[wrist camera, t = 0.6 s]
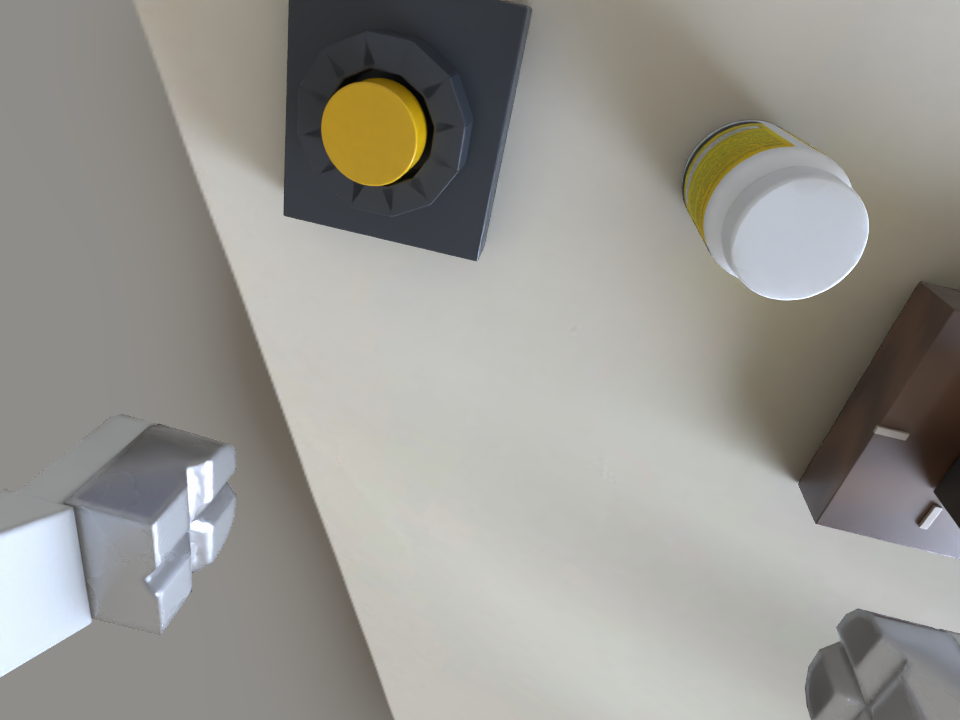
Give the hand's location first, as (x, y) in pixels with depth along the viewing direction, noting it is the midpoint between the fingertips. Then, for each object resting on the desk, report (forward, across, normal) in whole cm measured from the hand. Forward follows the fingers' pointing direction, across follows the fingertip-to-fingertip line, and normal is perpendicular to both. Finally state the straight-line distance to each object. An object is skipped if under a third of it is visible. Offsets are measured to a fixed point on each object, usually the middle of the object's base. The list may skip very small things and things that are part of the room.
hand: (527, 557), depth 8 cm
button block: (+22, +8, -2) cm, 23 cm away
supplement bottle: (+22, -7, -2) cm, 23 cm away
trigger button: (+18, +8, -1) cm, 20 cm away
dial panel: (+22, -20, +6) cm, 31 cm away
